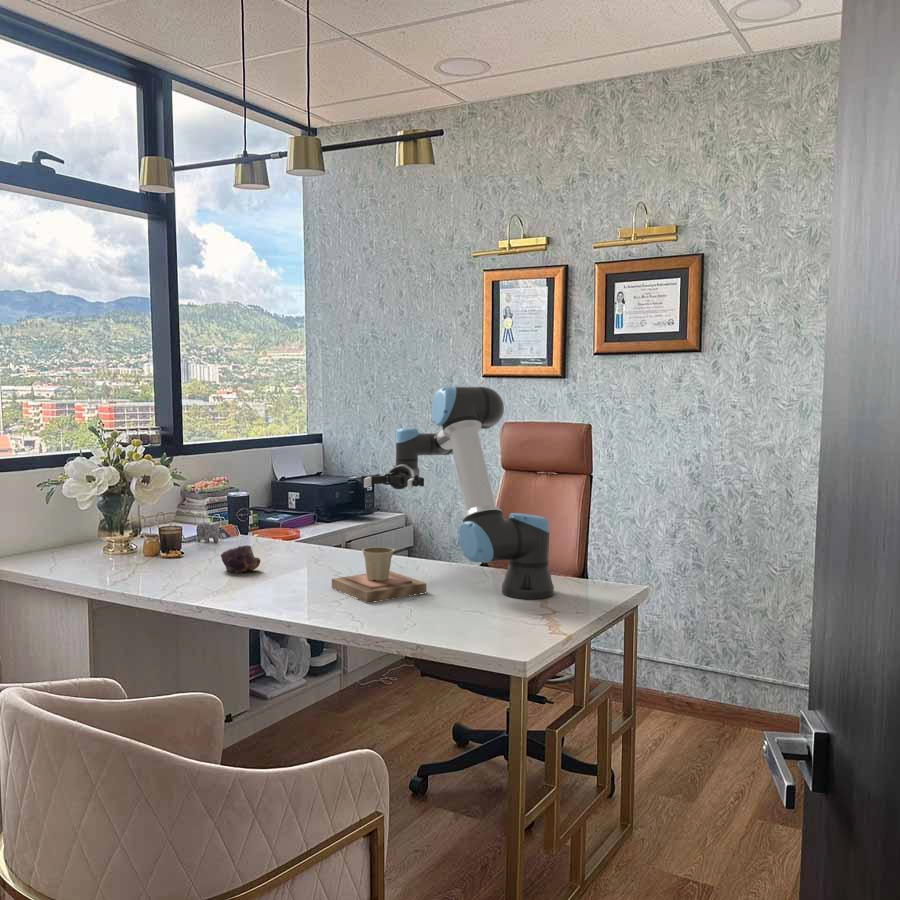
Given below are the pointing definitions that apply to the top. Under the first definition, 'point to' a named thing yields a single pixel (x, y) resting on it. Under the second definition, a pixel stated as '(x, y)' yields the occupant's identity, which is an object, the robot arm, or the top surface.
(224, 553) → the rock
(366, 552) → the flower pot
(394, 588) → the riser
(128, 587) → the top surface
